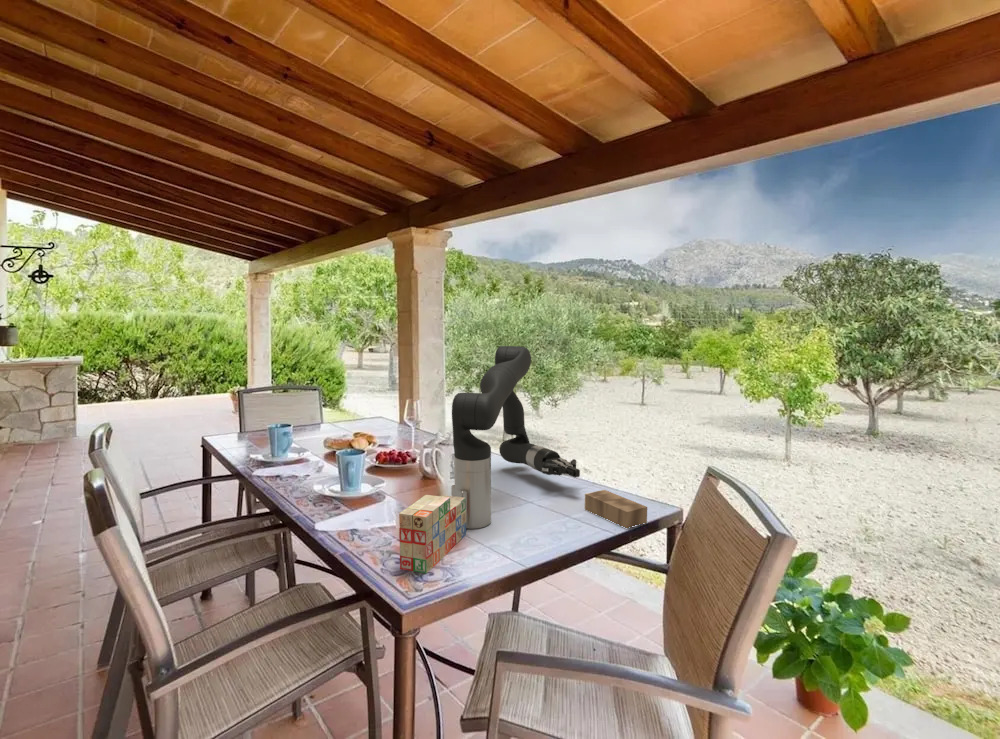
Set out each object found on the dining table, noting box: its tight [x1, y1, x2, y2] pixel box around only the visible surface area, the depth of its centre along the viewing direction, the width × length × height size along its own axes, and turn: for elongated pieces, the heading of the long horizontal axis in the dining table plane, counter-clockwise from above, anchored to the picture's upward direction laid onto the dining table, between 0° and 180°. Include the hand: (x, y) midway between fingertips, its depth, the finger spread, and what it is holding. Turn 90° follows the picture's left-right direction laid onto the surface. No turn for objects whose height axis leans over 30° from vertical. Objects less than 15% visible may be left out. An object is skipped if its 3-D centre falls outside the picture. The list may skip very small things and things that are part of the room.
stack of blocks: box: [398, 494, 467, 574], centre depth 121 cm, size 21×6×12 cm, turn 161°
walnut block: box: [584, 489, 648, 529], centre depth 142 cm, size 7×4×16 cm
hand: (577, 473), depth 155 cm, fingers closed
